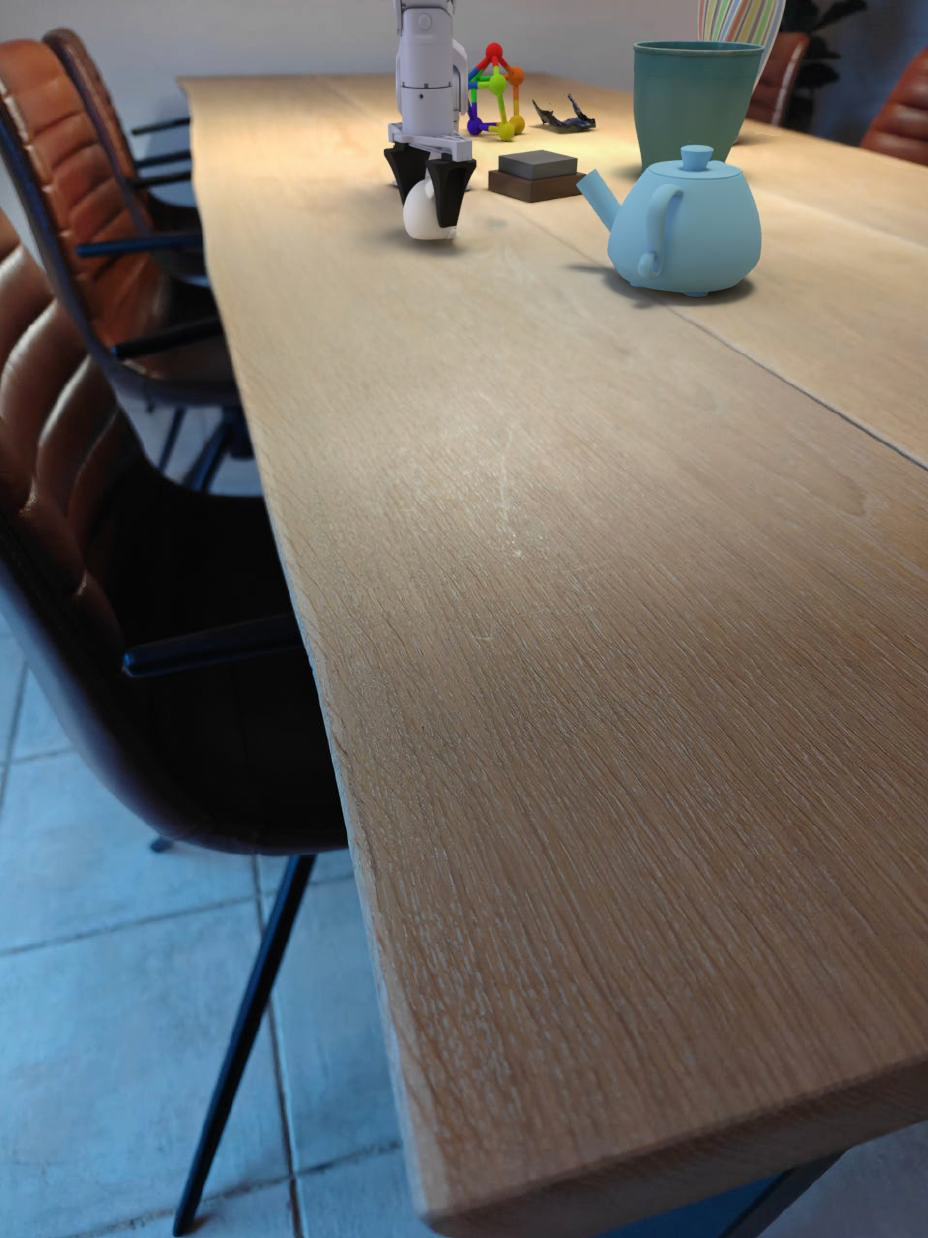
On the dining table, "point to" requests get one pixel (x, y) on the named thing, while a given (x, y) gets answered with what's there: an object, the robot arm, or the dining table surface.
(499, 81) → the educational toy
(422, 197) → the figurine
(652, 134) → the flower pot
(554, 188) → the stack
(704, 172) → the teapot
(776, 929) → the dining table surface
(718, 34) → the vase
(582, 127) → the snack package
